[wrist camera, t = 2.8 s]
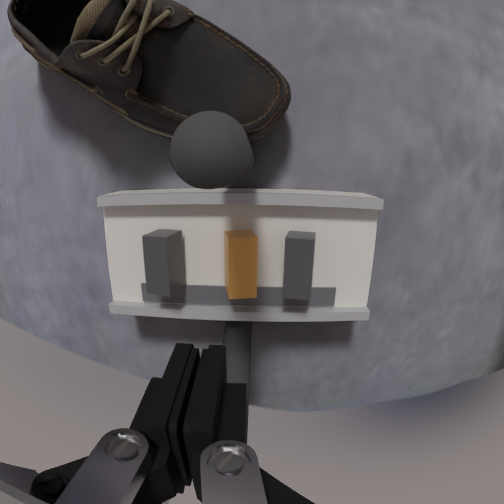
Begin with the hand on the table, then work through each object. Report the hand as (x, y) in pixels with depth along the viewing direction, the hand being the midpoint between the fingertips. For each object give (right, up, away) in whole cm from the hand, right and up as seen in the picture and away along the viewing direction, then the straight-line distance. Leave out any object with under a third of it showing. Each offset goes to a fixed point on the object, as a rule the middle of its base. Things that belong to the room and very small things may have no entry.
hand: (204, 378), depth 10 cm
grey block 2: (+5, +4, +14) cm, 16 cm away
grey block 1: (-5, +4, +14) cm, 15 cm away
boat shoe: (-9, +22, +14) cm, 28 cm away
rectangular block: (0, +4, +14) cm, 15 cm away
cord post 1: (+1, +12, +16) cm, 20 cm away
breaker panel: (+1, +5, +18) cm, 19 cm away
